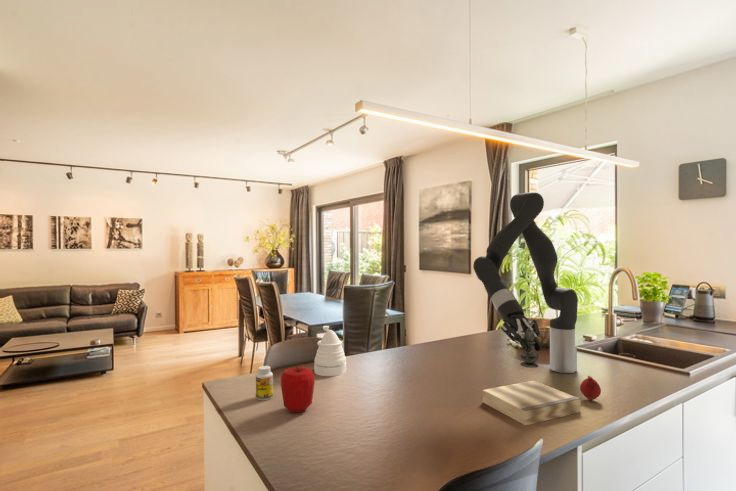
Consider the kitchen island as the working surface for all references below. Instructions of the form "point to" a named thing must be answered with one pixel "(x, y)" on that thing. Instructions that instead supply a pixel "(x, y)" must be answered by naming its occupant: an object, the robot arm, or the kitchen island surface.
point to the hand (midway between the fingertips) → (534, 350)
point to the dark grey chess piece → (532, 355)
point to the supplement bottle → (264, 383)
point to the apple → (297, 388)
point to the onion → (590, 388)
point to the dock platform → (531, 402)
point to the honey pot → (330, 355)
